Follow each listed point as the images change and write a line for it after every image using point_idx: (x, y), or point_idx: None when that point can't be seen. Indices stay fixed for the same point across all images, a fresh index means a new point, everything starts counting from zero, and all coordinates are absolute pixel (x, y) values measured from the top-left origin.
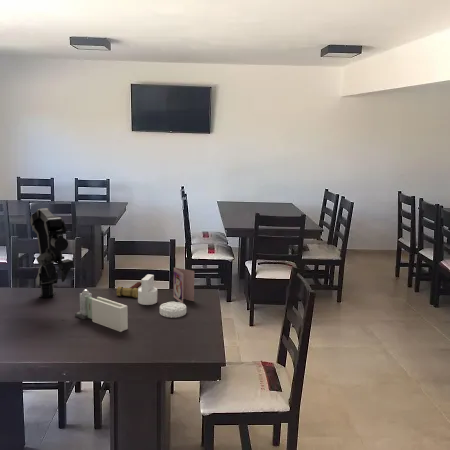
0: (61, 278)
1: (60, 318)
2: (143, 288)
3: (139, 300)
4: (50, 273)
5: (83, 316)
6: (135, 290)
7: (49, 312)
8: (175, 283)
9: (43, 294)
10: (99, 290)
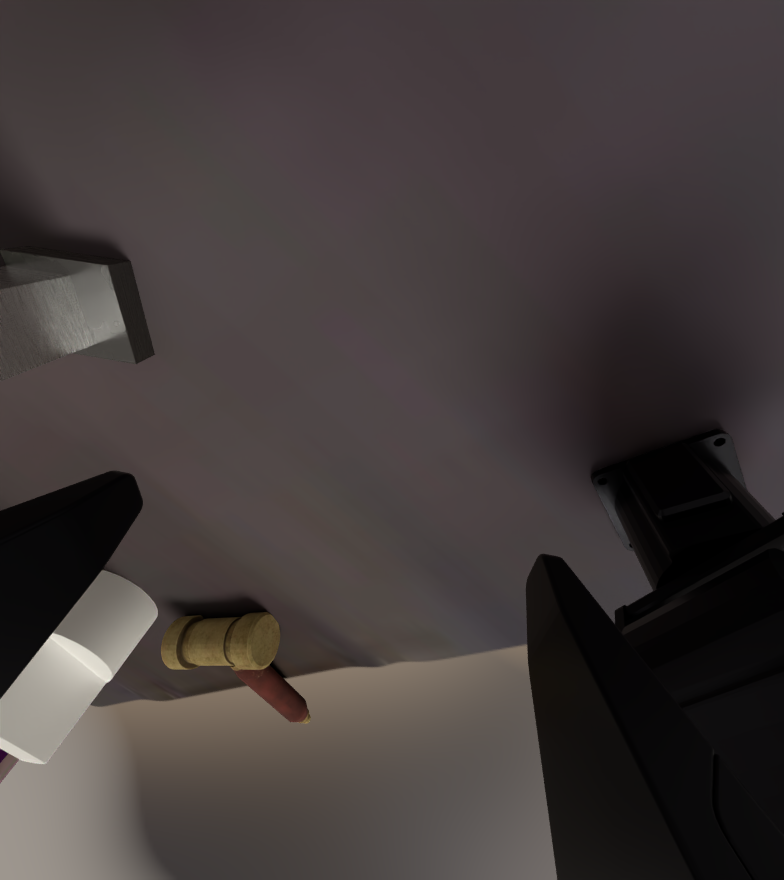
0: (38, 511)
1: (155, 126)
2: None
3: (100, 586)
4: (548, 668)
5: (12, 249)
6: (164, 651)
7: (366, 189)
8: None
9: (684, 458)
10: (400, 639)
